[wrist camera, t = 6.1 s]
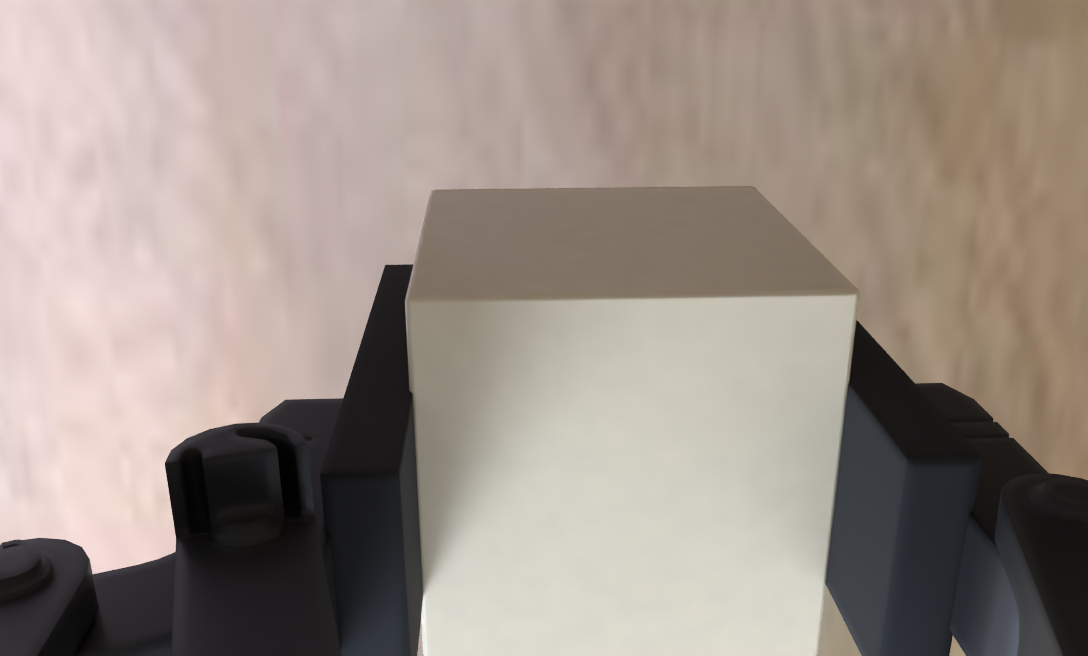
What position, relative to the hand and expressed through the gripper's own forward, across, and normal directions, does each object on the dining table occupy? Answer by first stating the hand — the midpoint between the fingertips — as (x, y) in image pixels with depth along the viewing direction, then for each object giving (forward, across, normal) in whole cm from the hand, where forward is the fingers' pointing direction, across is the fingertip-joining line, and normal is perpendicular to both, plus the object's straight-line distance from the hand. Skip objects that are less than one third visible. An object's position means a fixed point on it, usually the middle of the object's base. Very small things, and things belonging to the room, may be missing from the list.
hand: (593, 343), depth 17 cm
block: (0, 0, 0) cm, 0 cm away
